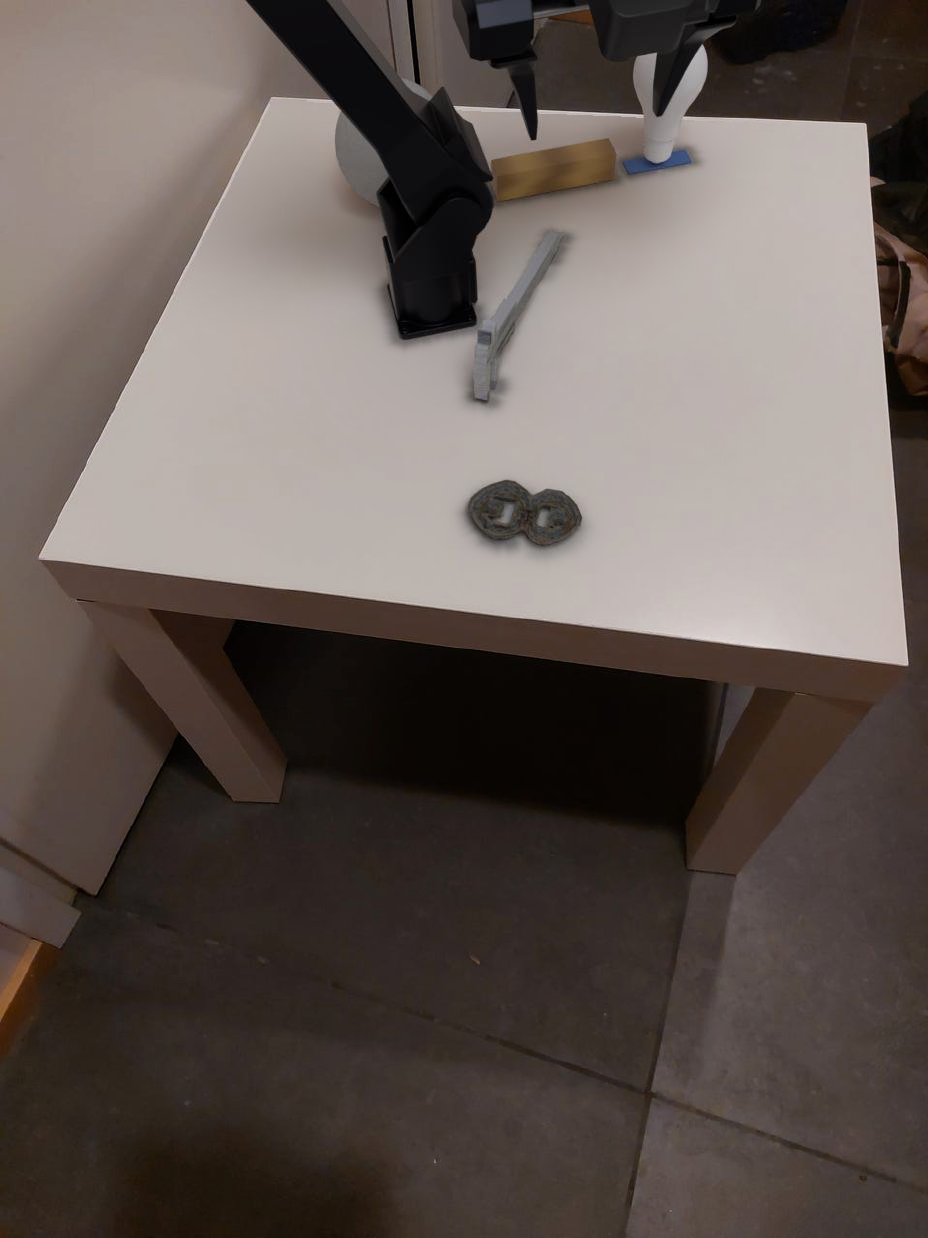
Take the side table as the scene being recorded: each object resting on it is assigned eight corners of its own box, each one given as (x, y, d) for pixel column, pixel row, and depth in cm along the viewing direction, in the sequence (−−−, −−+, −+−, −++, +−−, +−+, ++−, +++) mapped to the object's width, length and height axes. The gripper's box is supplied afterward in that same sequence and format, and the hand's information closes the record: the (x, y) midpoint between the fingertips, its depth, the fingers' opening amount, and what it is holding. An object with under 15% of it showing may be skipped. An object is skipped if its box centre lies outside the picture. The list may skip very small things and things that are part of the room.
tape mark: (628, 174, 78) (629, 172, 78) (622, 162, 79) (623, 160, 78) (691, 162, 78) (691, 160, 78) (684, 151, 79) (685, 148, 79)
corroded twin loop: (573, 559, 58) (574, 550, 57) (460, 538, 59) (460, 529, 58) (587, 501, 60) (588, 492, 59) (478, 482, 62) (477, 473, 61)
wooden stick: (497, 201, 77) (497, 176, 75) (491, 185, 78) (490, 159, 76) (614, 179, 77) (617, 153, 75) (606, 163, 79) (608, 137, 76)
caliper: (487, 406, 65) (485, 344, 60) (474, 403, 65) (471, 341, 60) (563, 237, 74) (567, 169, 69) (551, 235, 74) (554, 167, 69)
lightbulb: (648, 190, 76) (667, 61, 67) (609, 155, 79) (623, 27, 69) (703, 166, 77) (730, 36, 68) (663, 133, 80) (683, 3, 70)
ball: (340, 172, 80) (319, 60, 71) (444, 156, 80) (436, 43, 72) (351, 240, 75) (330, 129, 67) (461, 223, 76) (455, 111, 67)
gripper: (486, -59, 42) (493, 221, 56) (842, -121, 43) (763, 168, 57) (441, -152, 47) (457, 124, 61) (758, -205, 48) (705, 78, 62)
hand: (594, 125), depth 60 cm, fingers open, 9 cm apart
